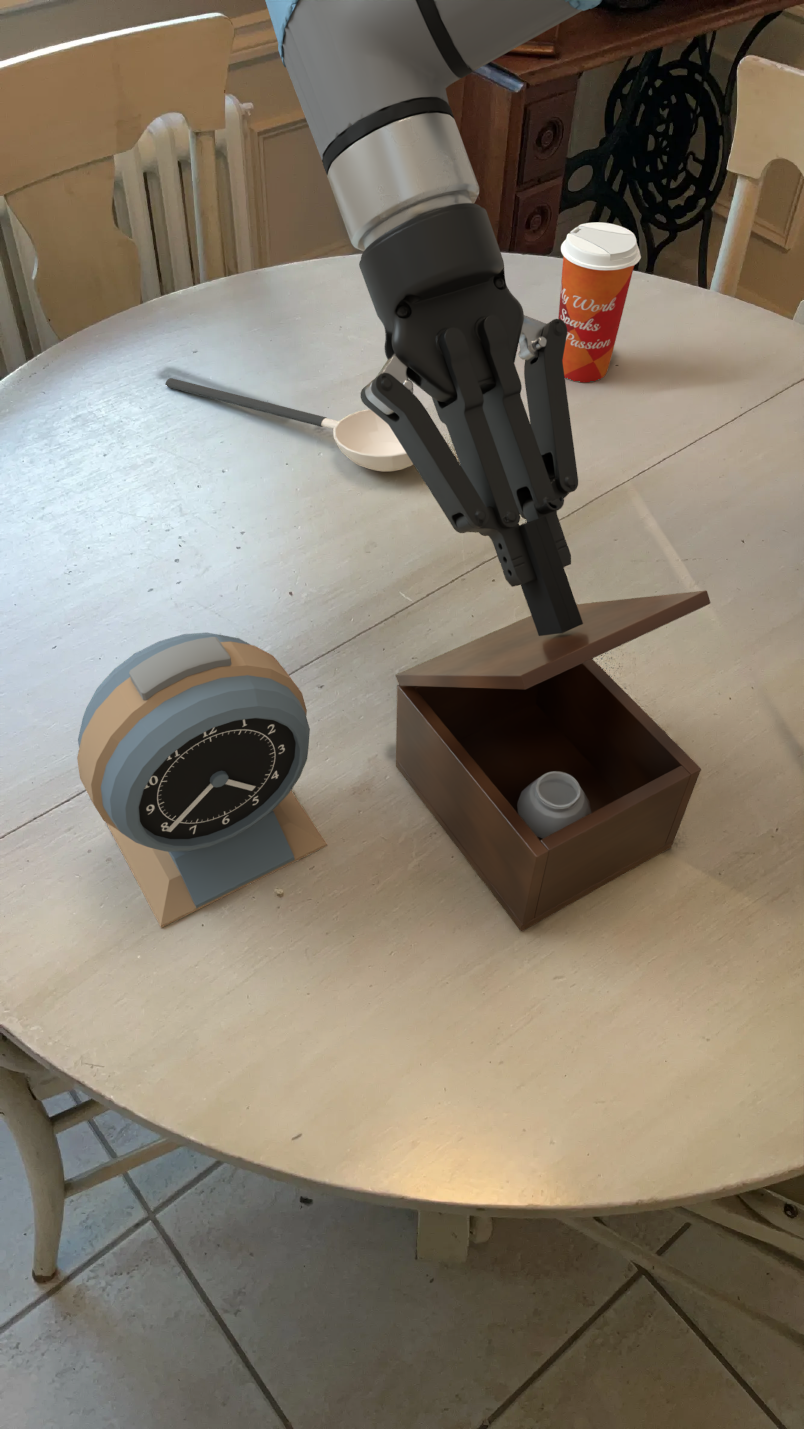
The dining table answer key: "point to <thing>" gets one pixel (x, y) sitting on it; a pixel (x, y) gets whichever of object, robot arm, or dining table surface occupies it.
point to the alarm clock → (198, 768)
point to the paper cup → (594, 295)
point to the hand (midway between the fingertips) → (560, 629)
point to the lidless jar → (552, 803)
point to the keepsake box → (521, 748)
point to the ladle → (354, 434)
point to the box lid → (549, 644)
